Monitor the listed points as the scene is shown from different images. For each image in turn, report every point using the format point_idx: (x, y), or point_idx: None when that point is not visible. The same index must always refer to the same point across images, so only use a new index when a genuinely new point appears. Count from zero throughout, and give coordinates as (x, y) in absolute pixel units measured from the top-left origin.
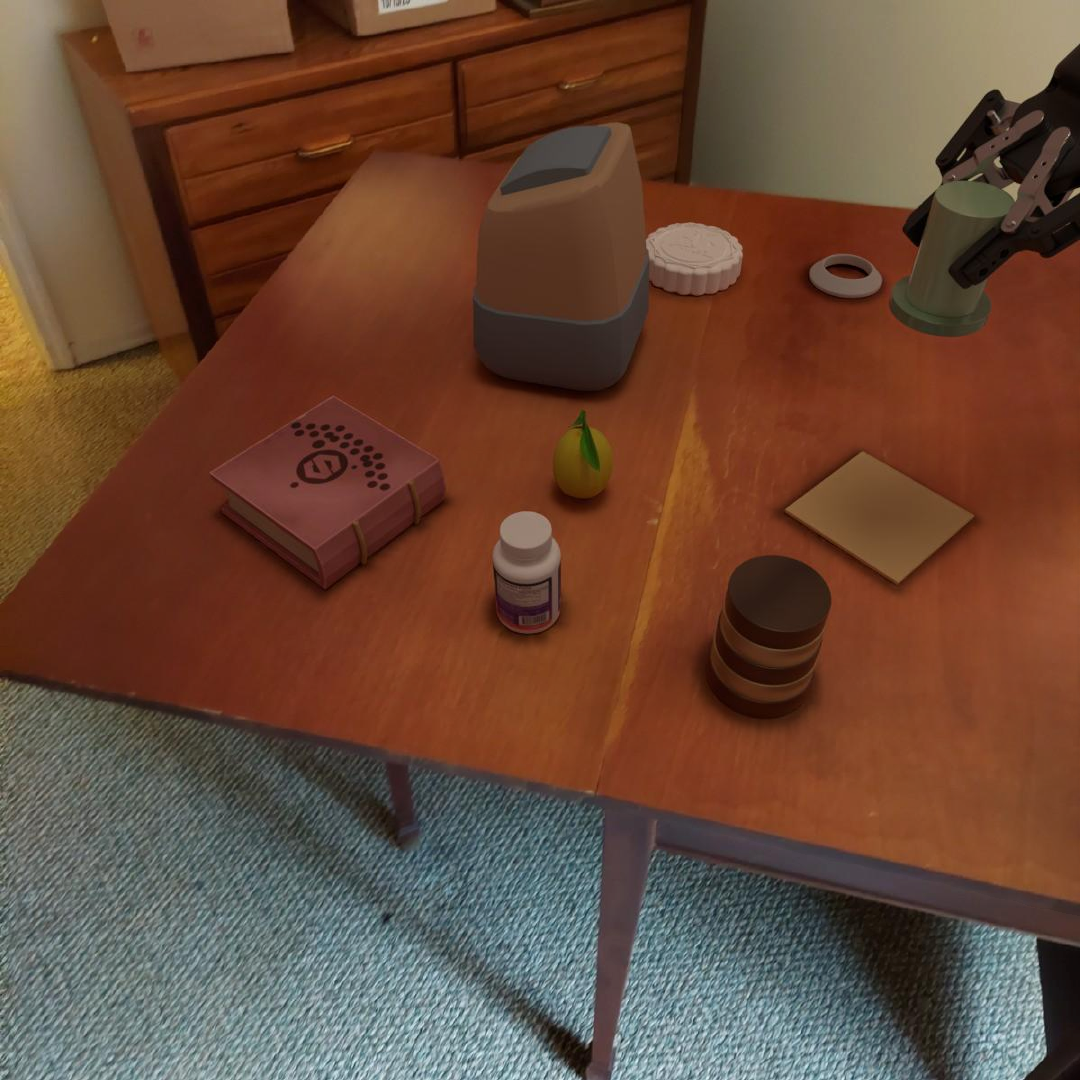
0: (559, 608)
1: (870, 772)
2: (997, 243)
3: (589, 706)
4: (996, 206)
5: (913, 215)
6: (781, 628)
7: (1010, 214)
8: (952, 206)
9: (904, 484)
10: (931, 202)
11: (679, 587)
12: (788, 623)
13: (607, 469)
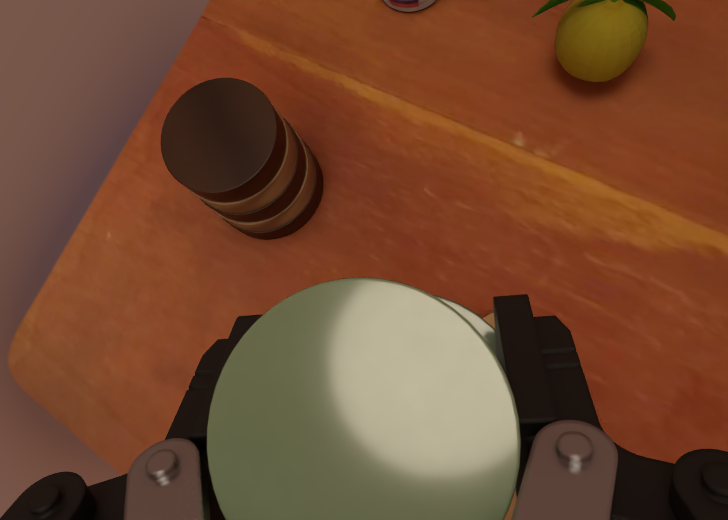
0: (392, 1)
1: (143, 251)
2: (188, 426)
3: (281, 23)
4: (270, 480)
5: (556, 336)
6: (169, 118)
7: (185, 485)
8: (320, 308)
9: (514, 500)
10: (531, 368)
11: (405, 142)
12: (173, 128)
13: (570, 55)
